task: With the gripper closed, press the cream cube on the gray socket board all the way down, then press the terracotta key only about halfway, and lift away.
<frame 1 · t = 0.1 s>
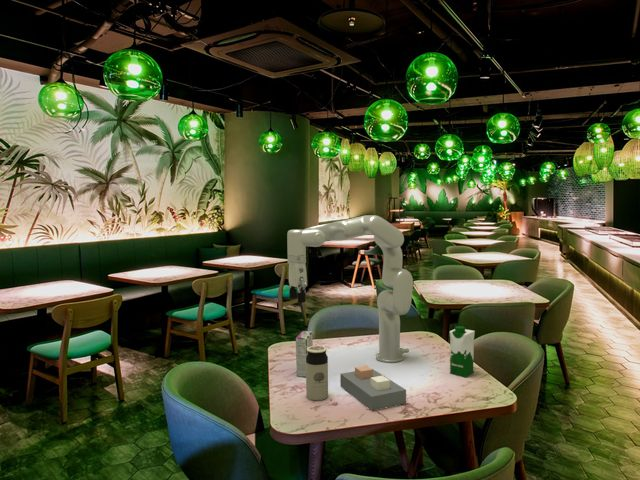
hand: (297, 300, 188), 31 cm above the table, tool pointing down, fingers open, 9 cm apart
candy bar box: (304, 372, 191), on the table
milk carton: (461, 373, 188), on the table
terracotta key: (363, 374, 173), point 5 cm above the table, slide at 0.0 cm
gray socket board: (371, 394, 167), on the table
cream cube: (380, 385, 162), point 6 cm above the table, slide at 0.0 cm
travel mug: (317, 397, 166), on the table
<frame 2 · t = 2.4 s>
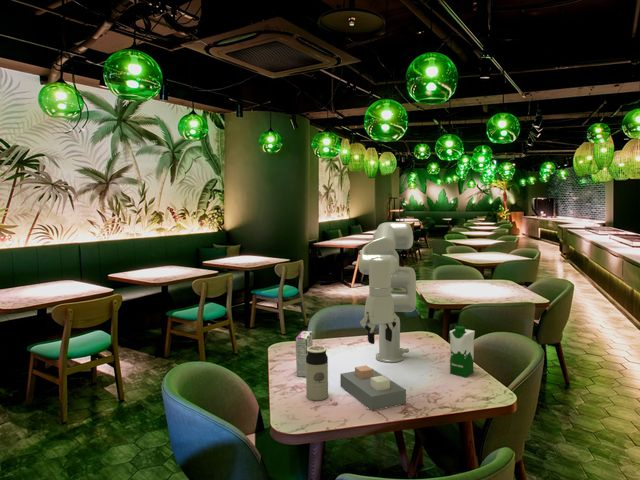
hand: (380, 341, 161), 22 cm above the table, tool pointing down, fingers open, 6 cm apart
nothing on the table moved.
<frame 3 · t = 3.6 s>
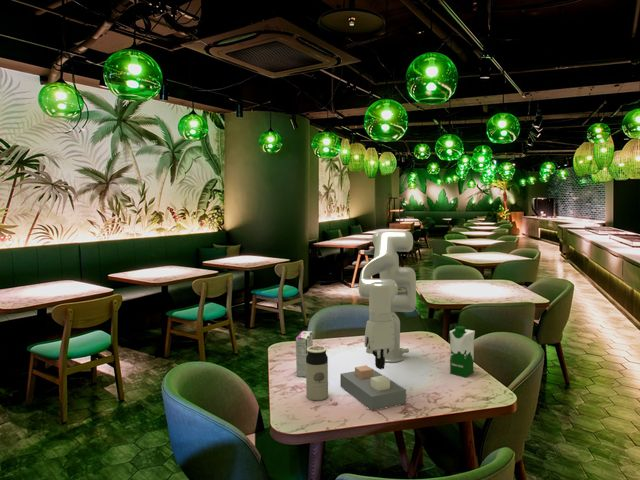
hand: (380, 367, 161), 12 cm above the table, tool pointing down, fingers closed
nothing on the table moved.
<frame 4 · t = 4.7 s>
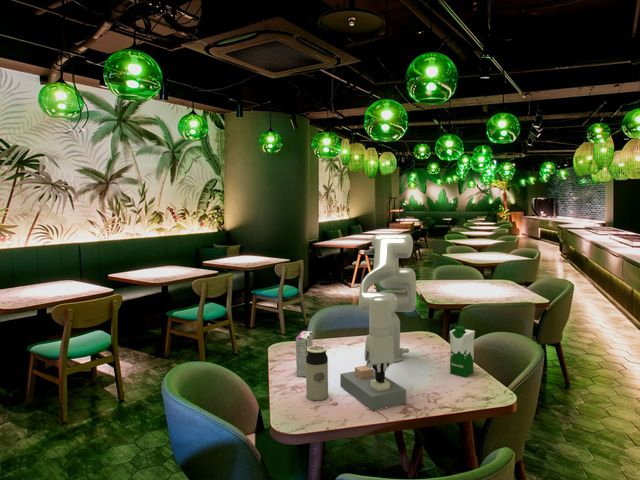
hand: (380, 381, 161), 7 cm above the table, tool pointing down, fingers closed
cream cube: (380, 388, 162), point 5 cm above the table, slide at 1.0 cm, touching gripper
everything else where it was.
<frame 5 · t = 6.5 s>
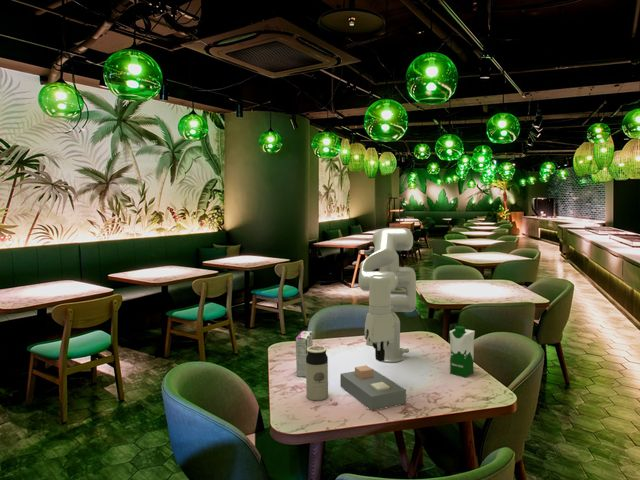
hand: (380, 360, 161), 15 cm above the table, tool pointing down, fingers closed
cream cube: (380, 392, 162), point 3 cm above the table, slide at 2.3 cm
everything else where it was.
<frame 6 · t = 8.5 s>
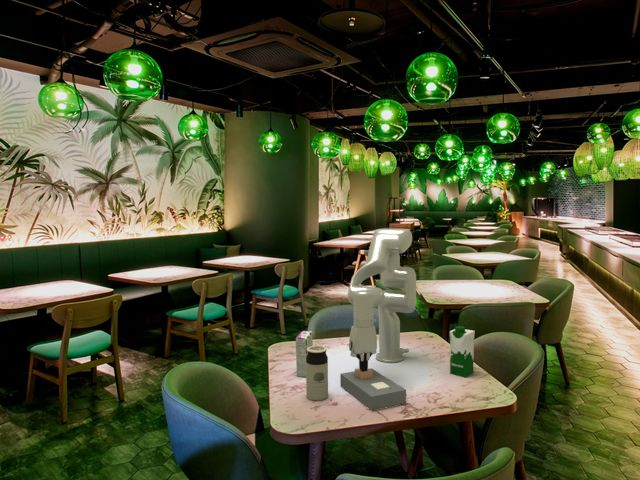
hand: (363, 370, 172), 7 cm above the table, tool pointing down, fingers closed
terracotta key: (363, 376, 173), point 5 cm above the table, slide at 0.7 cm, touching gripper
everything else where it was.
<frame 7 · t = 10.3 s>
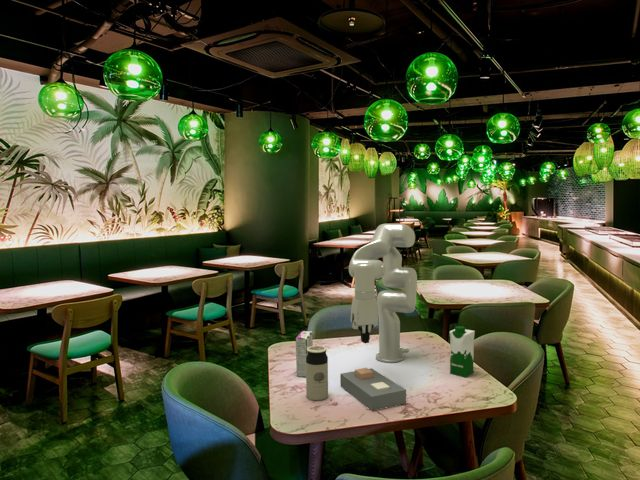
hand: (365, 342, 173), 18 cm above the table, tool pointing down, fingers closed
terracotta key: (363, 377, 173), point 5 cm above the table, slide at 0.9 cm
everything else where it was.
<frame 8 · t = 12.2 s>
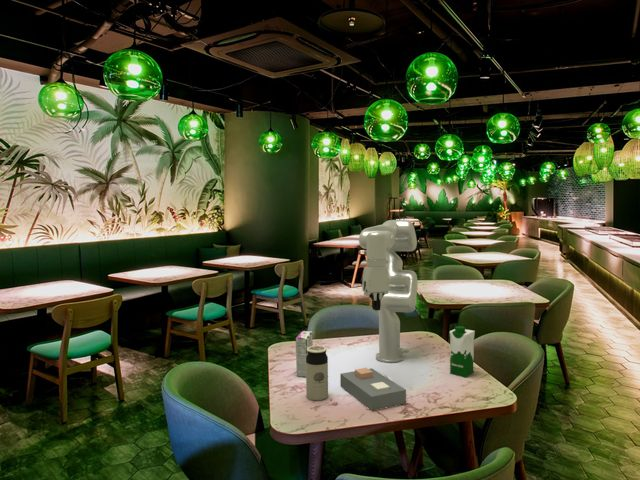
hand: (376, 309, 178), 29 cm above the table, tool pointing down, fingers closed
nothing on the table moved.
at the end: cream cube slide at 2.3 cm; terracotta key slide at 0.9 cm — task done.
